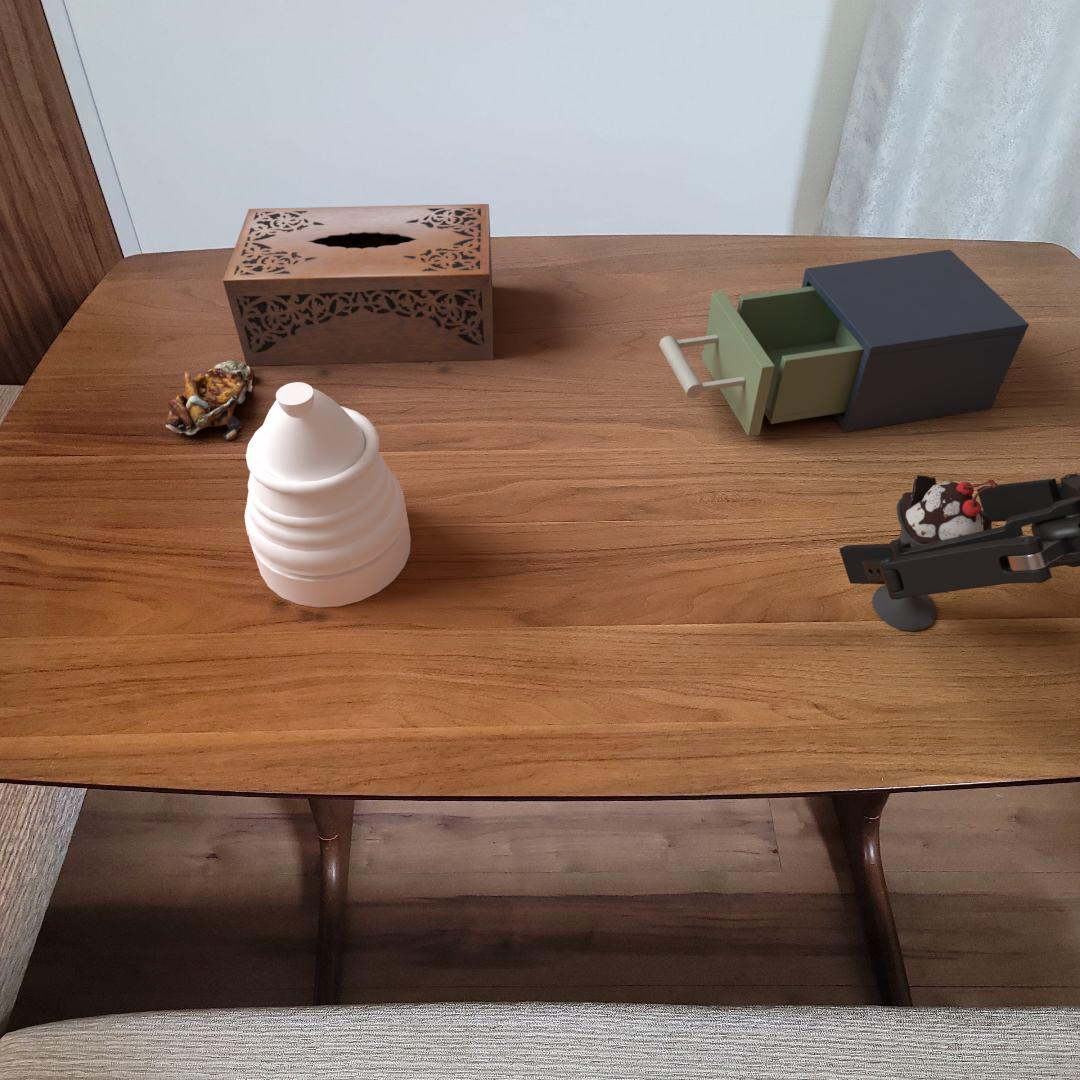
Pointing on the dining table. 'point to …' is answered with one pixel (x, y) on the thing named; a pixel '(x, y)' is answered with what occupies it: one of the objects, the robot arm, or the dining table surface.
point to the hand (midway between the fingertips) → (918, 533)
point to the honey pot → (323, 502)
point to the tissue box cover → (363, 284)
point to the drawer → (772, 357)
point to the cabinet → (919, 336)
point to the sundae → (930, 539)
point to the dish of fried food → (211, 400)
